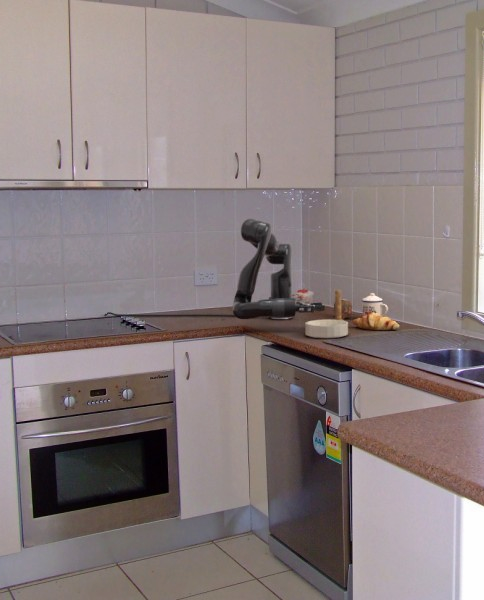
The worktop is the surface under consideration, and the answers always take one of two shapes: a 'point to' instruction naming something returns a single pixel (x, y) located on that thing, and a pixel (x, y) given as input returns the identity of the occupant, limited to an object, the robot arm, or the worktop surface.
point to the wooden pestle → (338, 305)
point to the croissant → (375, 322)
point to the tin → (345, 309)
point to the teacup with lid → (373, 305)
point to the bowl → (326, 328)
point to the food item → (303, 296)
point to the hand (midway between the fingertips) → (323, 306)
